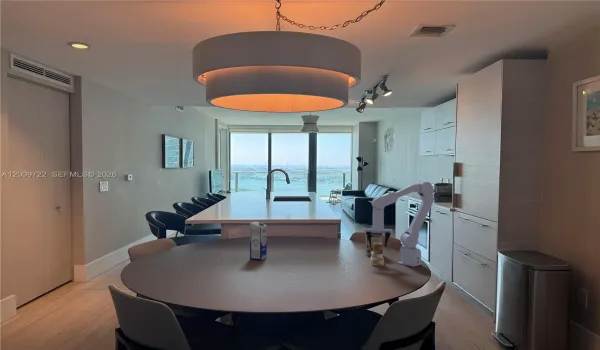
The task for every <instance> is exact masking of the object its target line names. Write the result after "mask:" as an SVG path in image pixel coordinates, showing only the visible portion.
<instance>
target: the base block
mask: <svg viewBox="0 0 600 350" xmlns="http://www.w3.org/2000/svg"><path fill="white" fill-rule="evenodd" d="M370 265H371V266H383V267H384V266H385V259H384V257H383V260H372V258H371V257H370Z"/></svg>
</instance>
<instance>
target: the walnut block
mask: <svg viewBox="0 0 600 350" xmlns="http://www.w3.org/2000/svg"><path fill="white" fill-rule="evenodd" d="M383 244H384V243H383V242H382V243H376V242H373V253H374V254H383V252H384V249H383V246H384V245H383ZM383 255H384V254H383Z"/></svg>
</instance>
